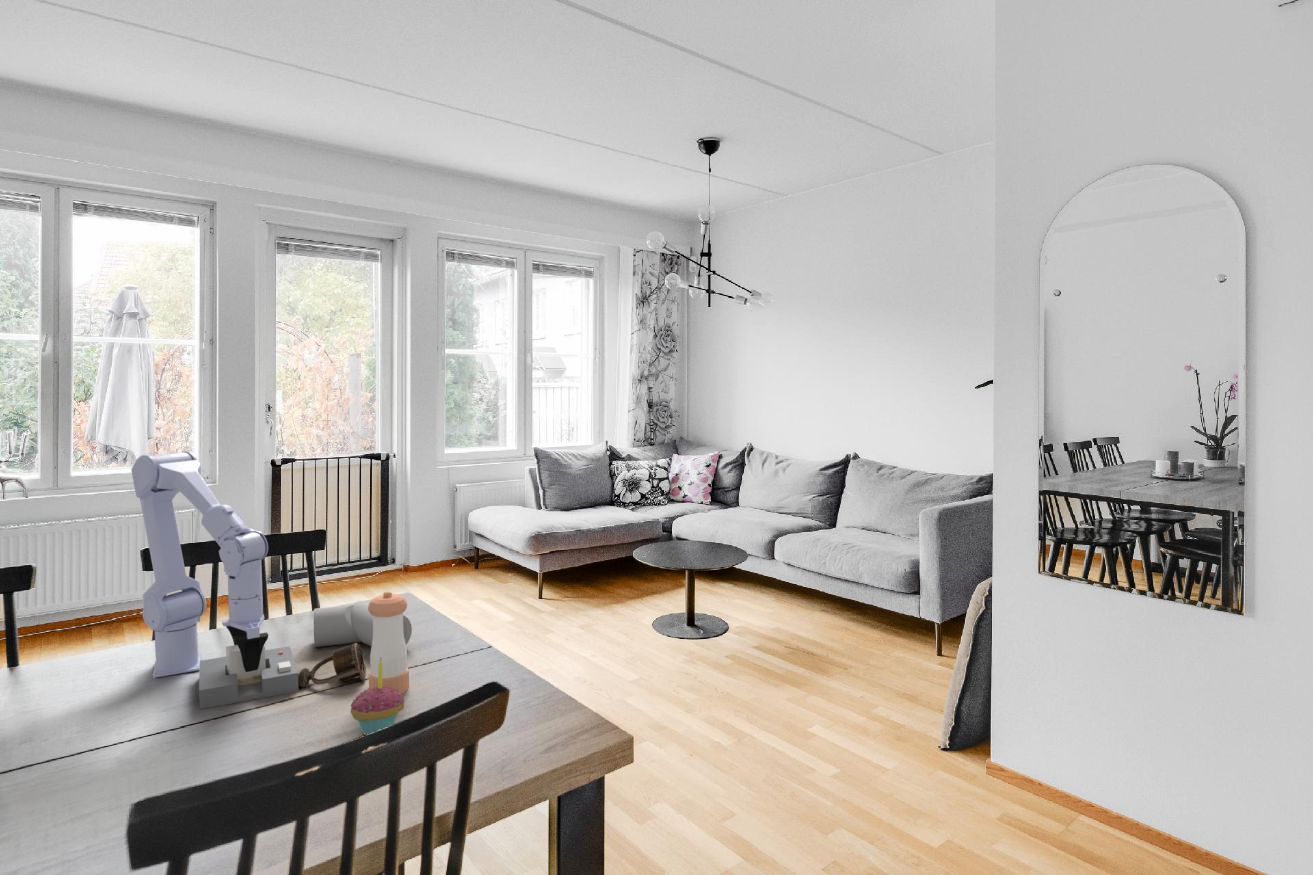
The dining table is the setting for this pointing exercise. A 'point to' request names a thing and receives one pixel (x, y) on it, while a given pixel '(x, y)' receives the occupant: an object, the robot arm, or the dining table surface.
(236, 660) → the plug
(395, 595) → the pepper shaker
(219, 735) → the dining table surface
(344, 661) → the bronze loop with drum
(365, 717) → the cupcake
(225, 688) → the socket board
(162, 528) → the robot arm
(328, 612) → the bent grey cylinder
